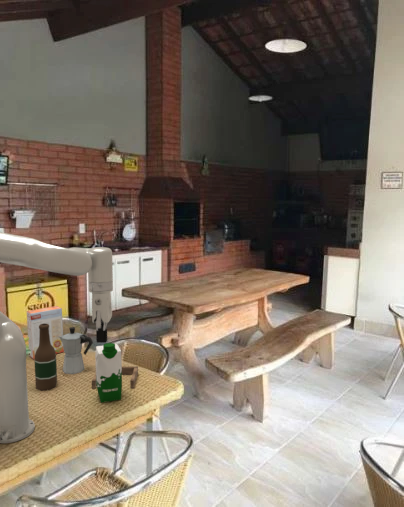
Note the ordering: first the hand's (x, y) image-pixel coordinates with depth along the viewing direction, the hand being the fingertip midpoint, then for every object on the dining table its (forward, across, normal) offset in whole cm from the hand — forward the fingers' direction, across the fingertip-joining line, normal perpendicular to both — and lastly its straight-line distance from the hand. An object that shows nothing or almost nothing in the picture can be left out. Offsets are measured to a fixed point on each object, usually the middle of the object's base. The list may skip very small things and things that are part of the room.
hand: (101, 341), depth 138 cm
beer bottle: (+24, +20, +24) cm, 40 cm away
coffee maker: (+24, +34, +17) cm, 45 cm away
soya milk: (+24, +10, 0) cm, 26 cm away
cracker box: (+24, +53, +34) cm, 68 cm away
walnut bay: (+24, +24, -1) cm, 34 cm away
